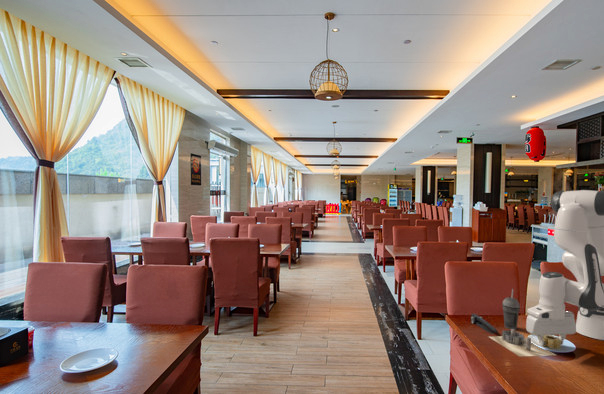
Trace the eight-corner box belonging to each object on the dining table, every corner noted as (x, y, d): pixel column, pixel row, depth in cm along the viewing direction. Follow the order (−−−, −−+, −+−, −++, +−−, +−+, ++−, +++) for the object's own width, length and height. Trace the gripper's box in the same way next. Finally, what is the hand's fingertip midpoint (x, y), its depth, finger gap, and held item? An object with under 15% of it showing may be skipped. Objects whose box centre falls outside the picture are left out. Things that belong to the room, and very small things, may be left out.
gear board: (521, 338, 146) (521, 325, 146) (556, 358, 128) (557, 343, 128) (488, 339, 144) (488, 325, 144) (519, 359, 127) (519, 344, 127)
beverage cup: (514, 327, 159) (515, 286, 159) (522, 333, 151) (523, 290, 151) (498, 326, 159) (499, 285, 159) (506, 332, 152) (507, 290, 152)
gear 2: (551, 344, 141) (551, 334, 141) (564, 351, 134) (565, 340, 134) (537, 344, 140) (537, 334, 140) (550, 352, 133) (550, 341, 133)
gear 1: (508, 335, 146) (508, 328, 146) (528, 342, 139) (528, 335, 139) (497, 338, 142) (498, 332, 142) (517, 346, 135) (517, 339, 135)
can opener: (466, 323, 164) (466, 311, 164) (480, 323, 164) (480, 312, 164) (487, 338, 146) (488, 326, 146) (503, 338, 146) (503, 326, 146)
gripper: (567, 308, 141) (566, 340, 141) (523, 309, 139) (523, 341, 139) (581, 313, 135) (580, 346, 135) (535, 314, 133) (535, 348, 133)
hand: (550, 344), depth 137 cm, fingers closed on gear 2, 7 cm apart
